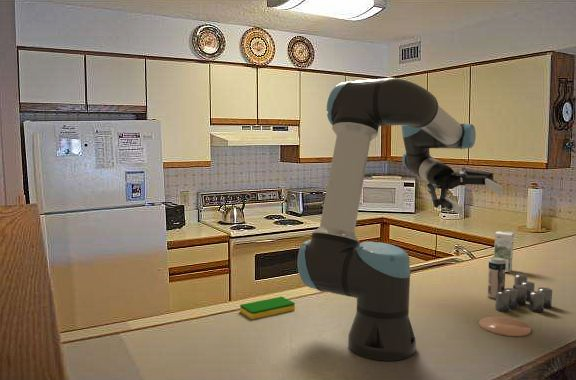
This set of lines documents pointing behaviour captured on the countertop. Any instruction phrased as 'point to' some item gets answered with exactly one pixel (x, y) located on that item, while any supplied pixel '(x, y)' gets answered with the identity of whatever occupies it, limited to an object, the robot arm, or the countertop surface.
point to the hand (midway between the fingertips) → (481, 200)
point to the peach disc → (505, 326)
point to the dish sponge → (267, 307)
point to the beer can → (496, 276)
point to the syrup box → (504, 247)
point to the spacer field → (523, 296)
